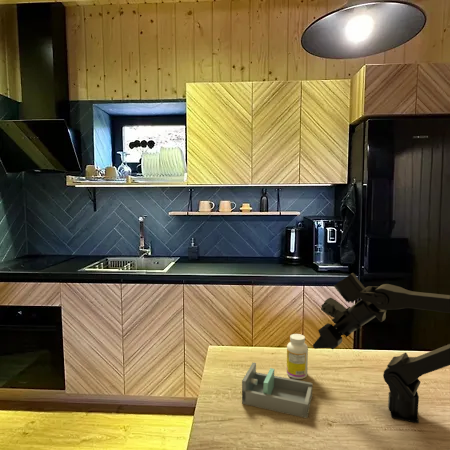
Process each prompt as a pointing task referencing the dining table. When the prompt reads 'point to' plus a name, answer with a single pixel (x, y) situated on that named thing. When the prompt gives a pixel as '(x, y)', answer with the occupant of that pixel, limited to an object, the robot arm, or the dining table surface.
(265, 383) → the pusher plate
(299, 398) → the tray
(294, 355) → the supplement bottle
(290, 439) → the dining table surface
